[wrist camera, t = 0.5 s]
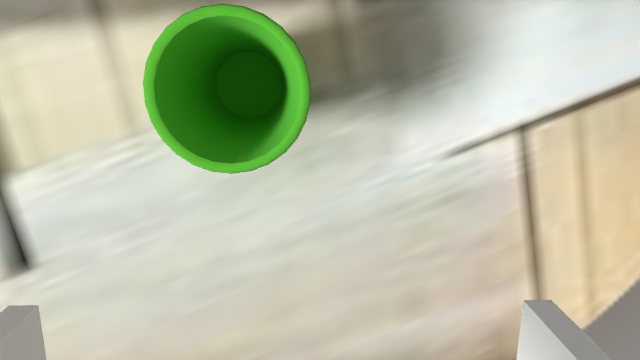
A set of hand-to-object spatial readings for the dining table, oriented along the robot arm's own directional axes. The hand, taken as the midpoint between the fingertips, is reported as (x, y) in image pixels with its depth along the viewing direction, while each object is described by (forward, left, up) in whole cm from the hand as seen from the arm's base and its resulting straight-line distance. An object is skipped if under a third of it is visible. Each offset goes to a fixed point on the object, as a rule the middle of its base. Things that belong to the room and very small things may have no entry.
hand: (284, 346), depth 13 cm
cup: (-6, -4, -26) cm, 27 cm away
